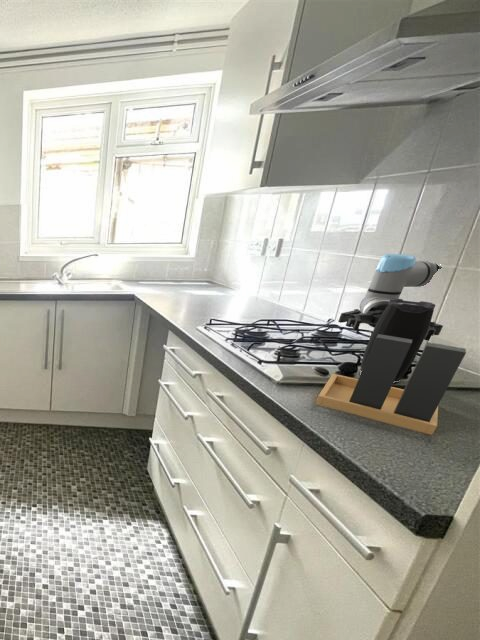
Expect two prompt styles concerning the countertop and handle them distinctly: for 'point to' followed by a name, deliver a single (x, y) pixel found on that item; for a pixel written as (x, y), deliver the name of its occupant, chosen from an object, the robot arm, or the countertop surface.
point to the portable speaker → (403, 328)
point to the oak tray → (339, 396)
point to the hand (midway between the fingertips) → (392, 330)
